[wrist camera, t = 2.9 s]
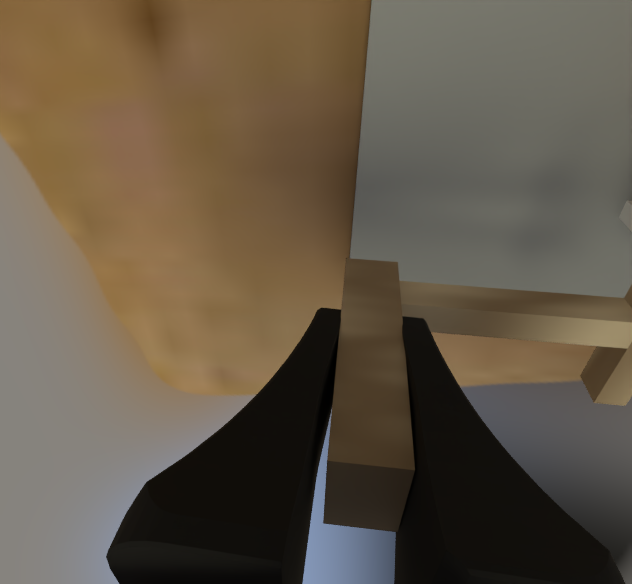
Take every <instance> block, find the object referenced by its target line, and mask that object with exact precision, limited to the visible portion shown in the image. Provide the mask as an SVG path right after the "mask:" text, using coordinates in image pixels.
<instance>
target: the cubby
mask: <svg viewBox="0 0 632 584" xmlns="http://www.w3.org/2000/svg"><path fill="white" fill-rule="evenodd" d="M350 258H351V259H364V260H378V261H391V262H398V270H399V281H409V282H422V283H435V284H448V285H461V286H474V287H487V288H500V289H513V290H526V291H539V292H552V293H565V294H578V295H591V296H604V297H617V298H624V297H625V295H626V294H627V292H628V290H629V288H630V287H631V285H632V0H372V4H371V16H370V27H369V39H368V51H367V62H366V74H365V86H364V97H363V109H362V121H361V133H360V144H359V156H358V168H357V179H356V191H355V203H354V214H353V226H352V238H351V249H350Z"/></svg>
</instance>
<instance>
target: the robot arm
mask: <svg viewBox="0 0 632 584" xmlns="http://www.w3.org/2000/svg"><path fill="white" fill-rule="evenodd" d="M402 318H403V325H402V334H403V342H404V348H405V355H406V366H407V379H408V391H409V403H410V415H411V427H412V439H413V451H414V463H415V472H414V476H413V479H412V483H411V486H410V490H409V493H408V497H407V500H406V504H405V508H404V511H403V515H402V518H401V522H400V525H399V529H398V532H396V546H395V547H396V548H395V581H394V584H625V582H624V580H623V578H622V576H621V573H620V571H619V570H618V568H617V566H616V564H615V562H614V560H613V558H612V556H611V553H610V551H609V550H608V549H607V548H605V547H604V546H603V545H602V544H601V543H600V542H599V541H598V540H596V539H595V538H594V537H593V536H592V535H591V534H590V533H588V532H587V531H586V530H585V529H584V528H583V527H582V526H581V525H579V524H578V523H577V522H576V521H575V520H574V519H573V518H571V517H570V516H569V515H568V514H567V513H566V512H565V511H563V510H562V509H561V508H560V507H559V506H558V505H557V504H556V503H555V502H554V501H553V500H552V499H551V498H550V497H549V496H548V495H547V494H546V493H545V492H544V491H543V490H542V489H541V488H540V487H539V486H538V485H537V484H536V483H535V482H534V481H533V479H531V477H530V476H529V475H528V474H527V473H526V472H525V471H524V470H523V469H522V468H521V466H520V465H519V464H518V463H517V462H516V461H515V460H514V459H513V458H512V457H511V455H510V454H509V453H508V452H507V451H506V450H505V448H504V447H503V446H502V445H501V443H499V441H498V440H497V439H496V438H495V436H494V435H493V434H492V432H491V431H490V430H489V428H488V427H487V426H486V424H485V423H484V422H483V421H482V419H481V418H480V416H479V415H478V414H477V412H476V411H475V409H474V408H473V406H472V405H471V403H470V402H469V400H468V399H467V397H466V396H465V394H464V393H463V391H462V390H461V388H460V386H459V385H458V383H457V381H456V380H455V378H454V376H453V375H452V373H451V371H450V369H449V368H448V366H447V364H446V362H445V360H444V358H443V357H442V355H441V353H440V351H439V349H438V347H437V345H436V343H435V341H434V338H433V336H432V334H431V332H430V329H429V327H428V324H427V322H426V321H425V320H424V318H416V317H406V316H402ZM340 324H341V310H339V309H329V308H320V309H319V310H317V312H316V314H315V316H314V318H313V320H312V322H311V324H310V326H309V327H308V329H307V331H306V332H305V334H304V336H303V337H302V339H301V340H300V342H299V343H298V344H297V346H296V347H295V349H294V350H293V352H292V353H291V354H290V356H289V357H288V359H287V360H286V361H285V362H284V364H283V365H282V366H281V367H280V369H279V370H278V371H277V372H276V373H275V375H274V376H273V377H272V378H271V380H270V381H269V382H268V383H267V384H266V385H265V386H264V387H263V389H262V390H261V391H260V392H259V393H258V394H257V395H256V396H255V397H254V398H253V399H252V400H251V401H250V402H249V403H248V404H247V405H246V406H245V407H244V408H243V409H242V410H241V411H240V412H239V413H237V414H236V415H235V416H234V417H233V418H232V419H231V420H230V421H229V422H228V423H226V424H225V425H224V426H223V427H222V428H221V429H219V430H218V431H217V432H216V433H214V434H213V435H212V436H211V437H209V438H208V439H207V440H206V441H204V442H203V443H202V444H200V445H199V446H198V447H197V448H195V449H194V450H193V451H192V452H190V453H189V454H187V455H186V456H185V457H183V458H182V459H180V460H179V461H177V462H176V463H174V464H173V465H171V466H170V467H168V468H167V469H165V470H164V471H162V472H161V473H159V474H158V475H157V476H155V477H154V478H152V479H151V480H149V481H147V482H146V484H145V485H144V487H143V488H142V490H141V491H140V493H139V494H138V496H137V497H136V499H135V500H134V502H133V504H132V505H131V507H130V508H129V510H128V511H127V513H126V515H125V517H124V519H123V521H122V523H121V525H120V527H119V529H118V531H117V533H116V535H115V538H114V540H113V542H112V544H111V546H110V548H109V550H108V553H107V556H106V558H107V560H108V563H109V566H110V569H111V571H112V572H113V574H114V576H115V577H116V579H117V580H118V582H119V584H302V582H303V574H304V566H305V558H306V550H307V543H308V535H309V528H310V520H311V513H312V505H313V497H314V490H315V483H316V477H317V472H318V466H319V461H320V457H321V452H322V448H323V444H324V440H325V435H326V431H327V427H328V422H329V418H330V414H331V409H332V405H333V395H334V384H335V373H336V362H337V352H338V341H339V330H340Z"/></svg>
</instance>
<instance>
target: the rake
mask: <svg viewBox="0 0 632 584" xmlns="http://www.w3.org/2000/svg"><path fill="white" fill-rule="evenodd" d="M402 316H406V317H416V318H424V320H425V321H426V322H427V324H428V327H429V329H430V332H437V333H448V334H460V335H472V336H484V337H495V338H507V339H519V340H531V341H543V342H554V343H566V344H578V345H590V346H597V347H596V349H595V351H594V352H593V354H592V356H591V358H590V359H589V361H588V363H587V365H586V367H585V368H584V370H583V372H582V374H581V375H580V376H581V378H582V380H583V382H584V384H585V386H586V388H587V390H588V392H589V394H590V396H591V398H592V400H593V402H594V403H602V404H614V405H624V406H625V405H626V403H627V402H628V401H629V399H630V398H631V396H632V285H631V287H630V288H629V290H628V292H627V294H626V295H625V297H624V298H617V297H604V296H591V295H578V294H565V293H552V292H539V291H526V290H513V289H500V288H487V287H474V286H461V285H448V284H435V283H422V282H409V281H399V270H398V262H391V261H378V260H364V259H351V258H346V266H345V277H344V288H343V298H342V309H341V324H340V330H339V341H338V352H337V362H336V373H335V384H334V395H333V405H332V416H331V427H330V437H329V448H328V460H327V473H326V489H325V505H324V521H323V523H325V524H333V525H342V526H350V527H359V528H367V529H375V530H385V531H392V532H398V529H399V525H400V522H401V518H402V515H403V511H404V508H405V504H406V500H407V497H408V493H409V490H410V486H411V483H412V479H413V476H414V472H415V463H414V451H413V439H412V427H411V415H410V403H409V391H408V379H407V366H406V355H405V348H404V342H403V334H402V325H403V318H402Z"/></svg>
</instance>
